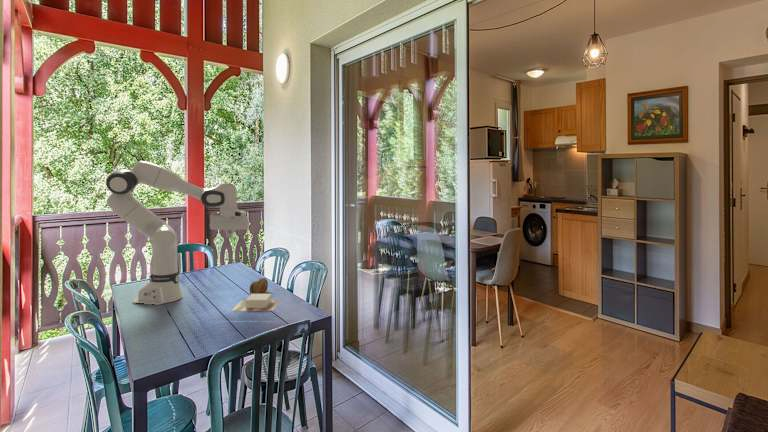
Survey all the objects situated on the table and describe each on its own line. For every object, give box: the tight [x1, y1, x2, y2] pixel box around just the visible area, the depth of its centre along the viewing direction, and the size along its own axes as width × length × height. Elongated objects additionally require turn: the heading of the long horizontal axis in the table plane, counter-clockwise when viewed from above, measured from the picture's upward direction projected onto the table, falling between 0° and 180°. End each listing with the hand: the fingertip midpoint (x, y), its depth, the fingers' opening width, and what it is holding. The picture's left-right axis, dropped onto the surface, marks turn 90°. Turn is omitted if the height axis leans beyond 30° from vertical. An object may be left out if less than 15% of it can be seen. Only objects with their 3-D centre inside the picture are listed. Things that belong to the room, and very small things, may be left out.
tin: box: [249, 277, 269, 296], centre depth 205 cm, size 15×3×8 cm, turn 168°
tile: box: [244, 293, 273, 308], centre depth 188 cm, size 4×10×10 cm
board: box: [230, 299, 281, 312], centre depth 187 cm, size 20×15×1 cm
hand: (229, 237), depth 205 cm, fingers closed
